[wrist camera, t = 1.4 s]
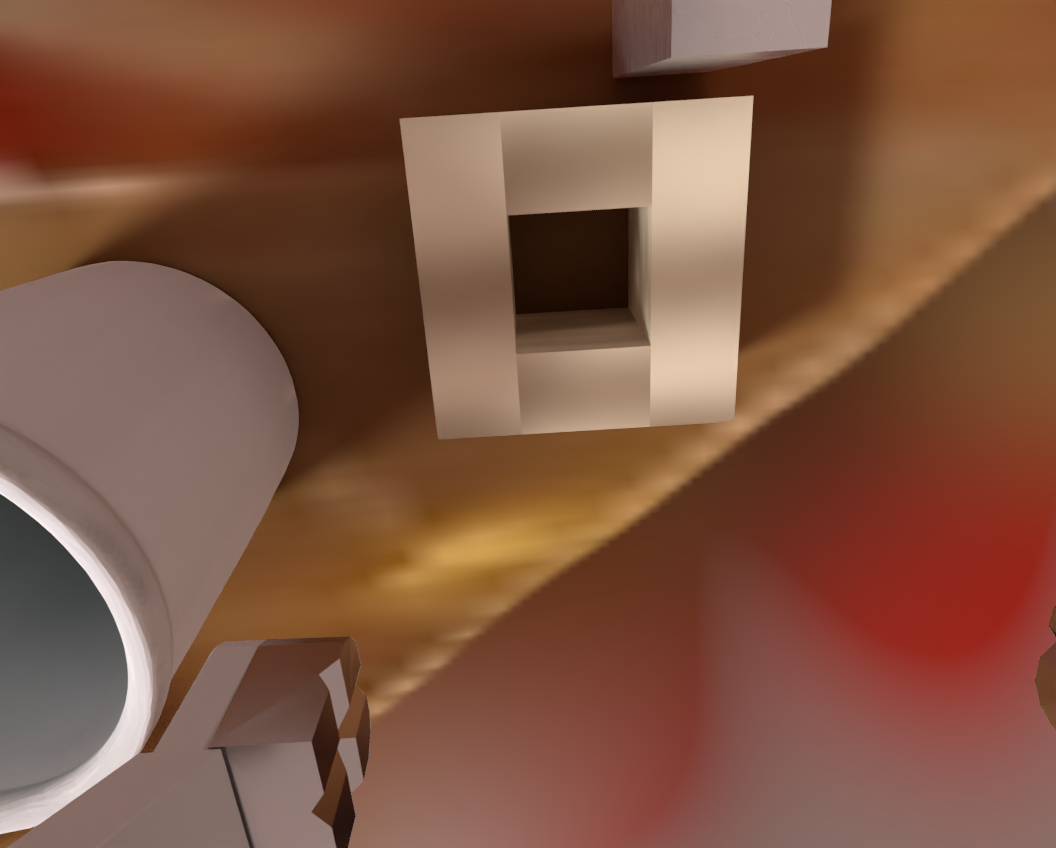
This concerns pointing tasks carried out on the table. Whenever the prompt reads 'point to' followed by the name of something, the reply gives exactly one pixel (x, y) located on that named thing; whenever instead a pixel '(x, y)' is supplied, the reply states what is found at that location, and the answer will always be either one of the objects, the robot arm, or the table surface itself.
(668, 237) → the socket block
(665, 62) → the square bar
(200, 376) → the utensil holder
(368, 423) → the table surface
